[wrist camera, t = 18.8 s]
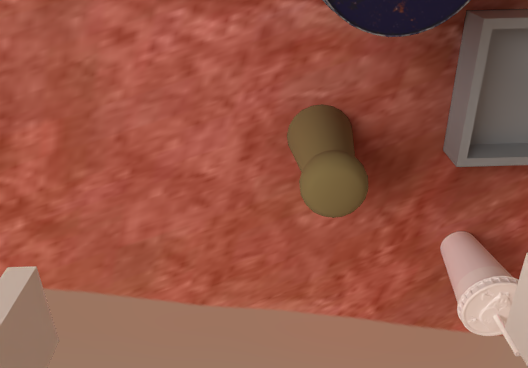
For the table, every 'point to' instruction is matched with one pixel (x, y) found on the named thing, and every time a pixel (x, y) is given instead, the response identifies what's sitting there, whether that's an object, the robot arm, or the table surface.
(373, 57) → the table surface
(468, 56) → the tray
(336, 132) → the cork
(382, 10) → the storage jar
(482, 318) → the smoothie
